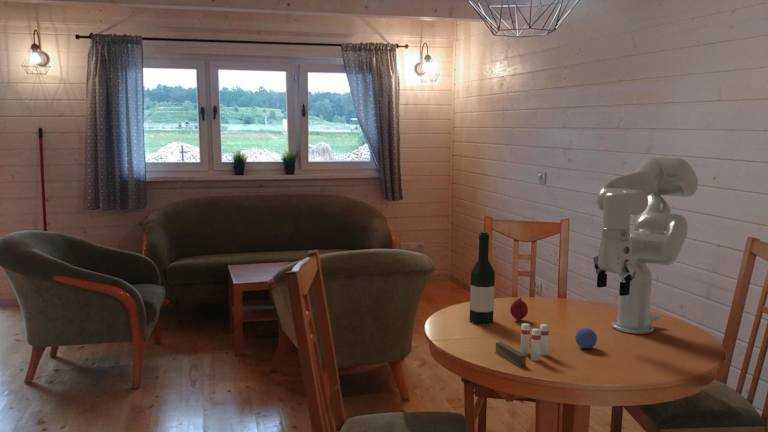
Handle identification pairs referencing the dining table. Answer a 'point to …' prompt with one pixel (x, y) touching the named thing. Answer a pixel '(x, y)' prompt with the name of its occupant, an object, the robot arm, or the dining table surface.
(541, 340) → the pin front
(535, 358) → the pin
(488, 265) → the wine bottle
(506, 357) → the wall
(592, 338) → the ball
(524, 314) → the onion
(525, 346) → the pin
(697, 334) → the dining table surface
